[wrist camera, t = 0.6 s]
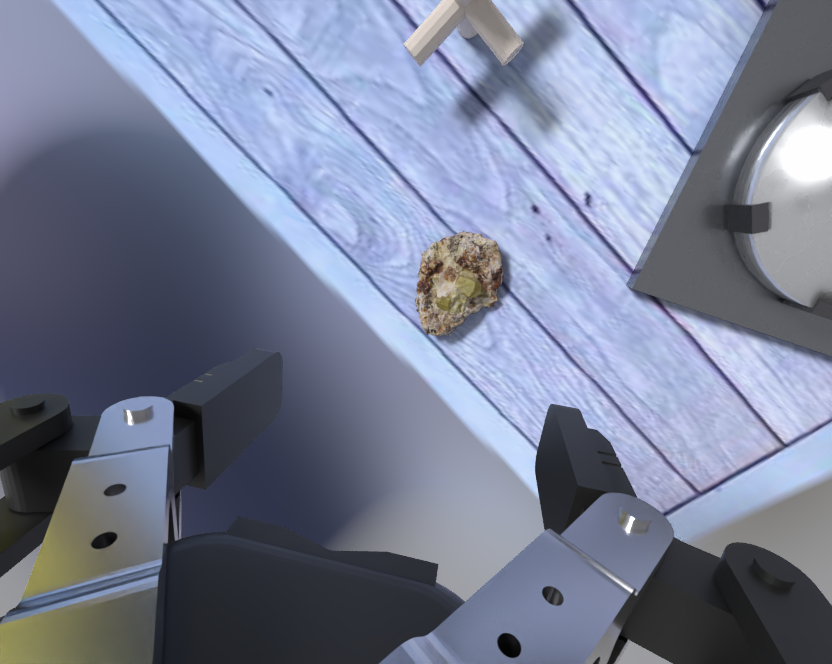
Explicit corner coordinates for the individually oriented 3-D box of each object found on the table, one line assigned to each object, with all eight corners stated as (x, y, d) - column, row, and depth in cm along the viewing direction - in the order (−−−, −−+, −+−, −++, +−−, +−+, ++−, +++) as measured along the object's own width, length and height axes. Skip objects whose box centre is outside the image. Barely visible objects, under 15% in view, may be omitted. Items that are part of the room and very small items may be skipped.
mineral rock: (438, 209, 35) (518, 257, 33) (455, 213, 39) (527, 256, 37) (384, 313, 39) (452, 362, 37) (404, 307, 43) (467, 351, 41)
